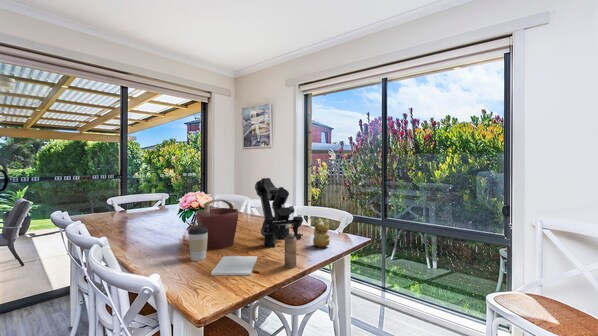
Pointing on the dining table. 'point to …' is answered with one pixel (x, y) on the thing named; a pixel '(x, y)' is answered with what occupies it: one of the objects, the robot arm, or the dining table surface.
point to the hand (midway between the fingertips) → (287, 238)
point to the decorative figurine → (321, 234)
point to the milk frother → (285, 231)
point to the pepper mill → (290, 251)
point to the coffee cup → (198, 242)
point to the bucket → (218, 224)
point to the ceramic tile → (235, 265)
